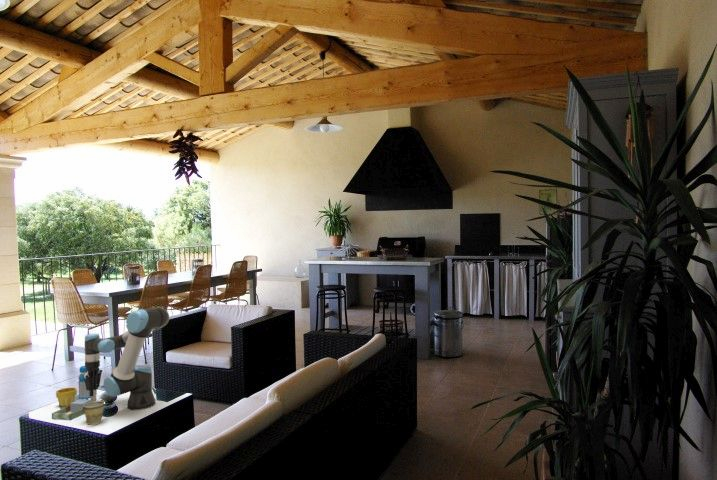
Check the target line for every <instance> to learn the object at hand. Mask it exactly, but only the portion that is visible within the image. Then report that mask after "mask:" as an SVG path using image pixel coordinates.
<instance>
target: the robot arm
mask: <svg viewBox="0 0 717 480" xmlns="http://www.w3.org/2000/svg"><path fill="white" fill-rule="evenodd" d="M169 320H170V315H169V311H168V310H166V309H165V308H164V307H160V306H159V307H158V306H156V307H151V308H150V307H149V308H143V309H142V308H141V309H137V310H134V311H132V312H130V313H129V314H128V315H127V317H126V321H125V326H126V329H127V330H126V331H124V332H123V333H122V334H119V335H115V336H110V337H106V338H100V334H99V333H88V334H86V335H85V336H84V359H85V361H84V363H85V364H84V366H85V368H86V369H87V371H86V374H85V375H83V378H84V381H85V385H86V390H89V391H90V398H89V400H92V402H94V401H97V394H98V393H97V392H98V391H97V390H99V388H100V385H101V378H102V373H103V369H100V366H101V355H100V354H101V353H103V354H105V353H106V354H107V353H111V352H112V351H115V350H119V349H123V350H122V354H121V356H120V359H119V361H118V364H117V366H115V367H114V368H113V369H112V372H111V374H110V375H107V376H106V377H104V380H103V388H104V390H105V392H106V394H107V395H108V396H110V397H118V396H121V395H124V394H126V393H127V394H128V393H129V392H130V393H129V397H128V400H127V403H126V409H127V410H132V411H133V410H134V411H137V410H145V409H149V408H151V406H152V407H154V406H155V405H156V398H155V395H154V392H153V381H152V378H153V377H152V375H153V374H152V367H151V366H149V365H145V364H144V365H142V364H140V365H137V362H138V360H139V357H140V356H141V355H140V354H141V351H142V349H143V346H144V344H145V341H146V339H147V338H149V337H150V336H151V334H152V332H153V331H155V330H157V331H158V330H161V329H162V328H164V327H165V326H167V325H168V323H169ZM154 404H155V405H154ZM153 405H154V406H153ZM148 407H149V408H148Z"/></svg>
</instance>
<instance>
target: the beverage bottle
mask: <svg viewBox="0 0 717 480" xmlns="http://www.w3.org/2000/svg"><path fill="white" fill-rule="evenodd" d="M86 371H87V369H86V368H85V365H81V366H80V367H79V375H78V381H77V382H78V383H77V384H78V400H79V399H87V398H88V399H90V391H89V390H86V385H85V381H84V378H83V375H85V374H86Z"/></svg>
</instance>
